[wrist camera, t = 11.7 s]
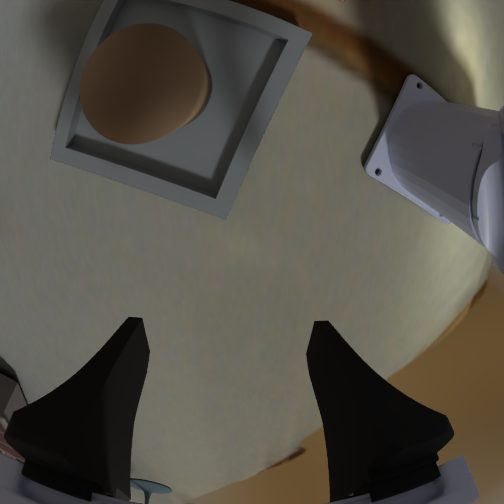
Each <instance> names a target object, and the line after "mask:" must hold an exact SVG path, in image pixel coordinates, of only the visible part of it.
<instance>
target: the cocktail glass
mask: <svg viewBox="0 0 504 504" xmlns="http://www.w3.org/2000/svg"><path fill="white" fill-rule="evenodd" d="M130 486H131V487H134V488H136V489H139V490H142V491H144V494H145V504H148V503H149V498H150V495H151V493H170V492H172V490H171V489H170V488H169V487H167V486H165V485H162V484H159V483H155V482H151V481H146V480H140V479H130Z"/></svg>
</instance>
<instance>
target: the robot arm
mask: <svg viewBox="0 0 504 504" xmlns="http://www.w3.org/2000/svg"><path fill="white" fill-rule="evenodd" d="M417 83H419V85H420V88H419V89H418V88H417ZM377 168H379V173H378V174H375V170H376V169H377ZM364 171H365V172H366V173H367V174H368V175H370V176H372V177H373V178H375V179H377V180H378V181H380V182H382V183H384V184H385V185H387V186H389V187H390V188H392V189H394V190H395V191H397V192H398V193H400V194H402V195H403V196H405V197H406V198H408V199H410V200H411V201H413V202H414V203H416V204H417V205H419V206H420V207H422V208H423V209H425V210H426V211H428V212H429V213H431V214H432V215H434V216H435V217H437V218H438V219H440V220H441V221H443V222H444V223H445V224H449V223H451V222H452V223H453V224H455V225H456V226H458V227H459V228H460V229H462V230H463V231H464V232H465V233H467V234H468V235H469V236H471V237H472V238H473V239H474V240H476V241H477V242H478V243H479V244H481V245H482V246H483V247H485V248H486V249H487V250H488V251H489V252H490V254H491V257H492V264H493V265H494V266H496V267H497V268H498V269H499V270H500V271H501V272H502V273H503V274H504V106H503V107H502V108H501V109H500V111H495V110H490V109H485V108H480V107H474V106H469V105H463V104H456V103H449V102H447V101H446V100H445V99H444V98H442V97H441V96H440V95H439V94H438V93H437V92H436V91H434V90H433V89H432V88H431V87H430V86H428V85H427V84H426V83H425V82H424V81H422V80H421V79H420V78H419V77H417V76H416V75H408V76H407V77H406V80H405V82H404V84H403V86H402V88H401V91H400V93H399V95H398V97H397V99H396V101H395V104H394V106H393V108H392V110H391V112H390V114H389V116H388V118H387V120H386V123H385V125H384V127H383V129H382V131H381V133H380V135H379V137H378V139H377V141H376V143H375V145H374V147H373V149H372V151H371V153H370V155H369V157H368V159H367V161H366V163H365V165H364ZM439 214H440V215H439ZM149 354H150V350H149V345H148V341H147V337H146V333H145V328H144V324H143V319H142V318H137V317H128V318H127V319H126V320H125V322H124V323H123V324H122V325H121V326H120V327H119V329H118V330H117V331H116V332H115V333H114V334H113V336H112V337H111V338H110V339H109V340H108V341H107V342H106V343H105V345H104V346H103V347H102V348H101V349H100V350H99V351H98V352H97V353H96V354H95V355H94V356H93V357H92V358H91V359H90V360H89V361H88V362H87V363H86V364H85V365H84V366H83V367H82V368H81V369H80V370H79V371H78V372H77V373H76V374H74V375H73V376H72V377H71V378H70V379H68V380H67V381H66V382H64V383H63V384H61V385H60V386H59V387H57V388H56V389H55V390H53V391H52V392H50V393H48V394H47V395H45V396H44V397H42V398H40V399H38V400H37V401H35V402H33V403H31V404H29V405H27V406H25V407H22V408H20V409H18V410H16V411H14V412H13V414H12V416H11V418H10V421H9V423H8V426H7V428H6V431H5V433H4V439H5V440H6V442H7V443H8V444H9V445H10V446H11V447H12V448H13V449H14V450H15V451H16V452H18V453H19V454H20V455H21V456H22V457H23V458H25V462H24V464H22V463H20V462H19V461H17V460H15V459H13V458H11V457H9V456H7V455H5V454H3V453H1V452H0V504H141V503H136V502H131V501H129V500H130V499H131V493H130V465H131V448H132V437H133V428H134V421H135V416H136V411H137V407H138V403H139V400H140V396H141V392H142V388H143V385H144V381H145V377H146V373H147V368H148V361H149ZM306 356H307V363H308V370H309V375H310V379H311V382H312V386H313V390H314V393H315V396H316V400H317V403H318V407H319V410H320V414H321V418H322V422H323V428H324V434H325V441H326V449H327V457H328V468H329V482H330V483H329V484H330V502H329V503H323V504H471V503H472V502H474V501H476V500H477V499H479V497H480V496H479V493H478V490H477V488H476V485H475V482H474V480H473V477H472V475H471V472H470V470H469V467H468V465H467V462H466V460H465V458H464V456H463V455H461V456H459V457H457V458H455V459H452V460H450V461H448V462H446V463H444V464H442V465H440V466H437V464H436V461H438V460H439V457H438V455H437V452H438V451H439V450H440V449H442V448H443V447H444V446H445V445H446V444H447V443H448V442H449V441H450V440H451V439H452V437H453V436H454V431H453V429H452V426H451V424H450V422H449V420H448V418H447V417H446V415H443V414H441V413H439V412H437V411H434V410H432V409H430V408H428V407H426V406H424V405H422V404H420V403H418V402H416V401H415V400H413V399H411V398H409V397H408V396H406V395H405V394H403V393H402V392H401V391H399V390H398V389H396V388H395V387H393V386H392V385H391V384H389V383H388V382H387V381H386V380H384V379H383V378H382V377H381V376H380V375H378V374H377V373H376V372H375V371H374V370H373V369H372V368H371V367H370V366H369V365H368V364H366V363H365V362H364V361H363V360H362V359H361V357H360V356H359V355H358V354H357V353H356V352H355V351H354V350H353V349H352V348H351V347H350V346H349V344H348V343H347V342H346V341H345V340H344V339H343V337H342V336H341V335H340V334H339V333H338V332H337V330H336V329H335V328H334V327H333V326H332V324H331V323H330V322H329V321H314V325H313V329H312V333H311V337H310V341H309V345H308V349H307V353H306Z"/></svg>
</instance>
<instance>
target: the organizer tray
mask: <svg viewBox="0 0 504 504" xmlns="http://www.w3.org/2000/svg"><path fill="white" fill-rule="evenodd" d="M25 406H27V404H26V401H25V399H24V397H23V394H22V392H21V389H20V387H19V384H18V382H16V381H14V380H12V379H10V378H8V377H6V376H5V375H3V374H1V373H0V452H1V453H3V454H5V455H7V456H9V457H11V458H13V459H15V460H17V461H19V462H20V463H22V464H24V462H25V458H23V457H22V456H21V455H20V454H19V453H18V452H16V451H15V450H14V449H13V448H12V447H11V446H10V445H9V444H8V443H7V442H6V440H5V439H4V433H5V431H6V428H7V426H8V423H9V421H10V418H11V416H12V414H13V412H14V411H16V410H18V409H20V408H22V407H25Z"/></svg>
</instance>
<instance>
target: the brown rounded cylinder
mask: <svg viewBox="0 0 504 504" xmlns="http://www.w3.org/2000/svg"><path fill="white" fill-rule="evenodd" d="M211 93H212V78H211V74H210V71H209V69H208V67H207V65H206V64H205V62H204V61H203V60H202V58H201V57H200V55H199V54H198V53H197V51H196V50H195V49H194V47H193V46H192V45H191V43H190V42H189V41H188V40H187V39H186V38H185V37H184V36H183V35H182V34H180V33H179V32H177V31H176V30H174V29H172V28H170V27H167V26H164V25H160V24H154V23H143V24H136V25H132V26H128V27H126V28H123V29H121V30H119V31H117V32H115V33H113V34H112V35H110V36H109V37H107V38H106V39H105V40H104V41H103V42H102V43H101V44H100V45H99V46H98V47H97V48H96V49H95V50H94V52H93V53H92V54H91V56H90V57H89V59H88V61H87V63H86V65H85V67H84V70H83V73H82V76H81V82H80V102H81V106H82V109H83V112H84V115H85V117H86V119H87V120H88V122H89V123H90V125H91V126H92V127H93V128H94V129H95V130H96V131H97V132H98V133H99V134H101V135H102V136H104V137H105V138H107V139H109V140H111V141H114V142H117V143H121V144H129V145H133V144H143V143H148V142H151V141H154V140H157V139H159V138H161V137H163V136H165V135H167V134H169V133H171V132H173V131H175V130H177V129H179V128H181V127H183V126H185V125H187V124H189V123H191V122H192V121H194V120H195V119H196V118H197V117H198V116H199V115H200V114H201V113H202V112H203V111H204V109H205V108H206V106H207V104H208V102H209V100H210V97H211Z"/></svg>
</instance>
